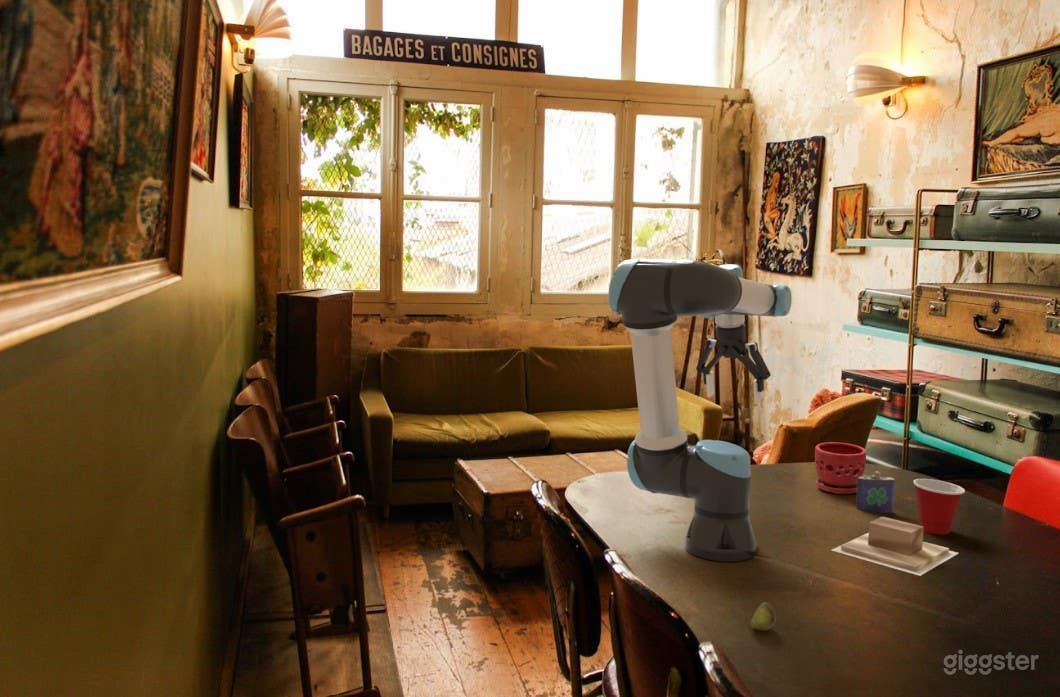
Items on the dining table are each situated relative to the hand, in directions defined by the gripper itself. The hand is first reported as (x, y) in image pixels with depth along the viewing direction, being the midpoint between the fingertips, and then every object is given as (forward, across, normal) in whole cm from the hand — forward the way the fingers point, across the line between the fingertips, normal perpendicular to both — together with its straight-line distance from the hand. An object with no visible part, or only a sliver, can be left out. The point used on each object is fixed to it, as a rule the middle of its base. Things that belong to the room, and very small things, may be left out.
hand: (733, 399), depth 224 cm
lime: (+7, -42, +78) cm, 89 cm away
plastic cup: (+23, -53, +8) cm, 58 cm away
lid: (+17, -49, +28) cm, 59 cm away
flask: (+25, -37, 0) cm, 45 cm away
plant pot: (+29, -23, -14) cm, 39 cm away
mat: (+18, -49, +28) cm, 60 cm away
